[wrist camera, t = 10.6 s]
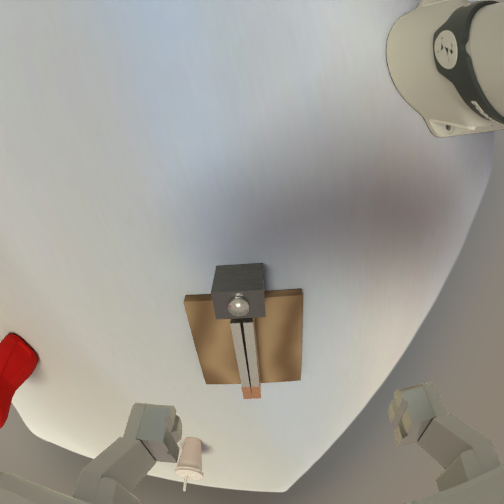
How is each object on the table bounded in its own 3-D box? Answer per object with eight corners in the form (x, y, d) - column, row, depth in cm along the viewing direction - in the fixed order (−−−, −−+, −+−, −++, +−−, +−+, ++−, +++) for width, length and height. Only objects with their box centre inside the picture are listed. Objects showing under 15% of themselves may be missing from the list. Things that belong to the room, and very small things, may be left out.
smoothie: (177, 433, 62) (168, 485, 50) (204, 435, 62) (198, 488, 50) (182, 445, 66) (175, 493, 53) (208, 447, 65) (203, 496, 53)
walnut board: (301, 288, 43) (302, 295, 41) (299, 373, 51) (300, 380, 50) (185, 295, 43) (183, 301, 42) (207, 377, 52) (206, 384, 51)
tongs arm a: (243, 303, 42) (242, 323, 38) (253, 302, 42) (253, 322, 38) (252, 379, 49) (252, 398, 46) (260, 378, 49) (260, 398, 46)
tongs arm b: (231, 303, 42) (229, 323, 38) (241, 303, 42) (240, 323, 38) (244, 379, 49) (243, 398, 46) (252, 379, 49) (252, 398, 46)
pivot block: (262, 263, 41) (263, 292, 35) (264, 288, 43) (265, 320, 37) (216, 266, 41) (210, 295, 35) (220, 291, 43) (215, 322, 37)
